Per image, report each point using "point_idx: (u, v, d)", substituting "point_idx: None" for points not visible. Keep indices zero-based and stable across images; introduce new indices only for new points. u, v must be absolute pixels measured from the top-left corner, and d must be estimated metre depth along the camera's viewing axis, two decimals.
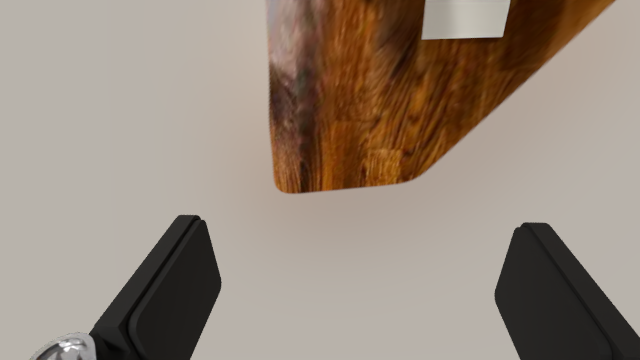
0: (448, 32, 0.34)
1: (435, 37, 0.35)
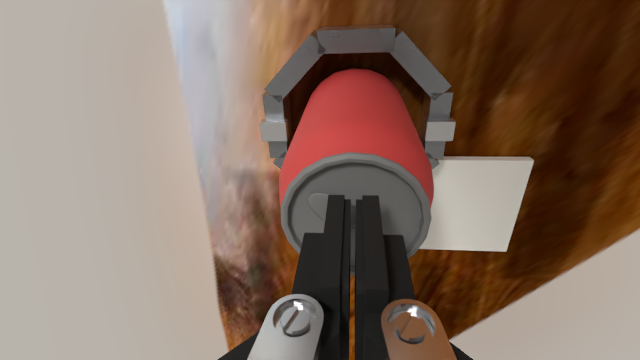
0: (436, 243, 0.27)
1: None
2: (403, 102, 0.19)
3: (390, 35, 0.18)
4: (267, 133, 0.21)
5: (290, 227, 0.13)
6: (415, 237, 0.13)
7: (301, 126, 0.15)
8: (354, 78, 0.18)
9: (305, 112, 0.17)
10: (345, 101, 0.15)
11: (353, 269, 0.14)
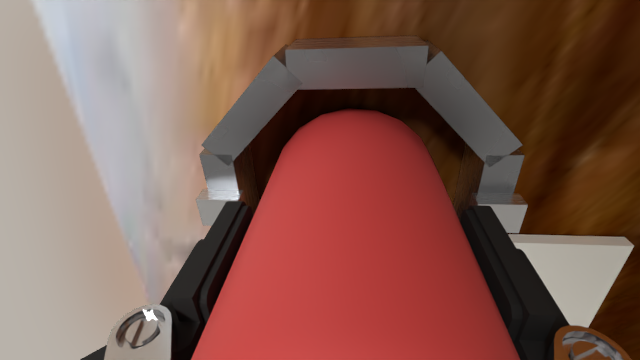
0: None
1: None
2: (437, 173, 0.11)
3: (418, 58, 0.10)
4: (210, 214, 0.13)
5: None
6: None
7: (238, 268, 0.07)
8: (352, 137, 0.10)
9: (260, 206, 0.09)
10: (331, 223, 0.07)
11: None
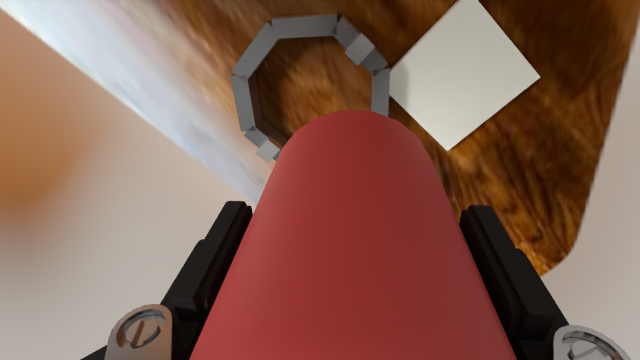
0: (469, 124, 0.26)
1: (460, 139, 0.26)
2: (435, 174, 0.11)
3: (268, 29, 0.22)
4: (265, 155, 0.26)
5: None
6: None
7: (235, 271, 0.07)
8: (349, 139, 0.10)
9: (258, 208, 0.09)
10: (327, 225, 0.07)
11: None
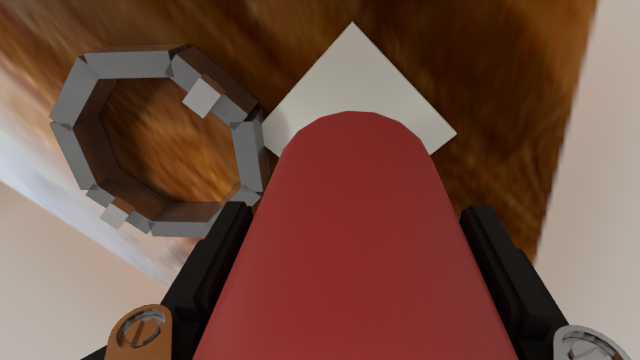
0: None
1: None
2: (437, 175, 0.11)
3: (82, 66, 0.16)
4: (112, 220, 0.20)
5: None
6: None
7: (236, 273, 0.07)
8: (351, 140, 0.10)
9: (259, 210, 0.09)
10: (329, 227, 0.07)
11: None
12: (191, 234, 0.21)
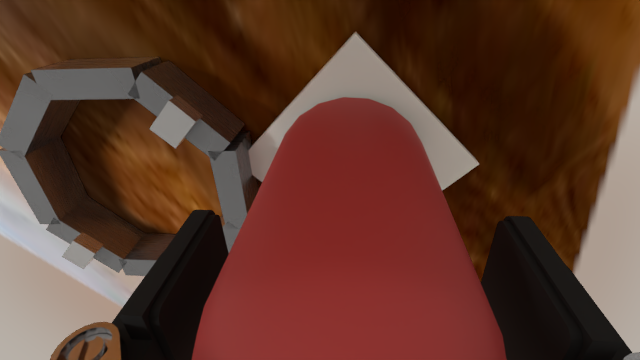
0: None
1: None
2: (424, 154, 0.12)
3: (30, 85, 0.13)
4: (77, 259, 0.17)
5: None
6: None
7: (246, 228, 0.08)
8: (346, 121, 0.11)
9: (264, 182, 0.11)
10: (325, 186, 0.08)
11: None
12: None
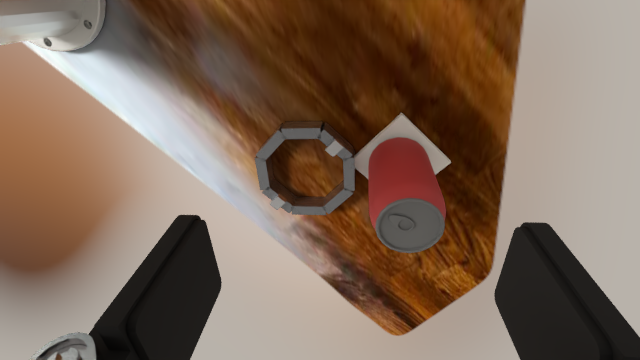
0: None
1: None
2: (428, 158, 0.34)
3: (279, 133, 0.36)
4: (275, 205, 0.40)
5: (379, 230, 0.28)
6: (437, 234, 0.28)
7: (378, 179, 0.30)
8: (401, 147, 0.33)
9: (375, 168, 0.33)
10: (401, 167, 0.30)
11: (407, 249, 0.29)
12: (313, 213, 0.41)
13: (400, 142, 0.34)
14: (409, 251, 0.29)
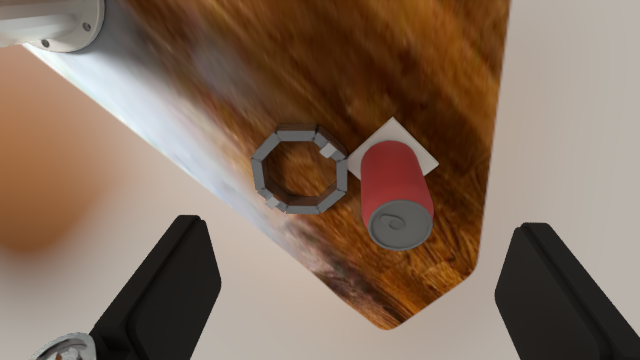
0: None
1: None
2: (417, 161, 0.36)
3: (274, 135, 0.37)
4: (270, 205, 0.41)
5: (371, 229, 0.30)
6: (425, 233, 0.29)
7: (370, 181, 0.32)
8: (392, 150, 0.35)
9: (367, 170, 0.34)
10: (392, 170, 0.31)
11: (398, 247, 0.30)
12: (306, 212, 0.42)
13: (391, 145, 0.36)
14: (399, 249, 0.30)
